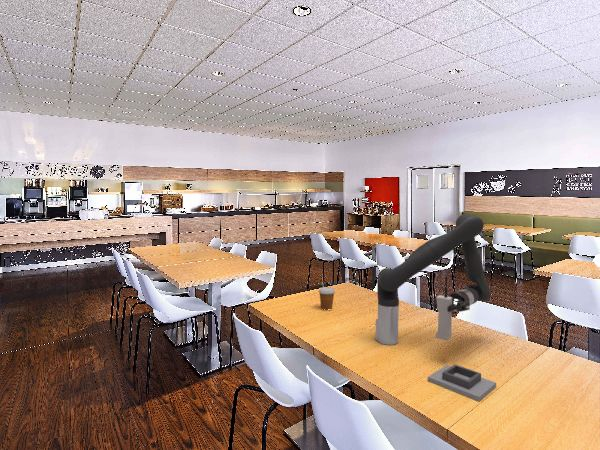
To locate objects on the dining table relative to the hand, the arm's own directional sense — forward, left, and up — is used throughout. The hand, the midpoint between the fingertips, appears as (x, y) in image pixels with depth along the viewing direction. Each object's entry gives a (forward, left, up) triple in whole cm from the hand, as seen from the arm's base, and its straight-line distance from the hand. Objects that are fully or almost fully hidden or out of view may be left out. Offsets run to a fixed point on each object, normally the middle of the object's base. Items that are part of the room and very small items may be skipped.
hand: (441, 307), depth 146 cm
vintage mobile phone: (0, +3, -13) cm, 13 cm away
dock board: (+13, -9, -23) cm, 28 cm away
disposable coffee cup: (-79, +18, -23) cm, 84 cm away
